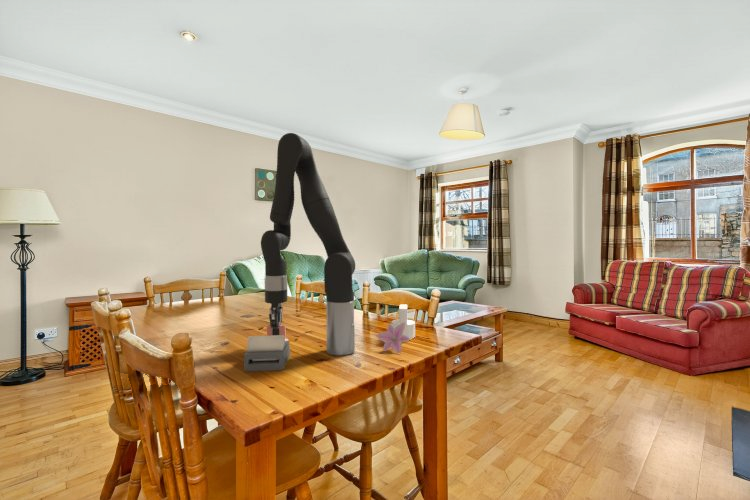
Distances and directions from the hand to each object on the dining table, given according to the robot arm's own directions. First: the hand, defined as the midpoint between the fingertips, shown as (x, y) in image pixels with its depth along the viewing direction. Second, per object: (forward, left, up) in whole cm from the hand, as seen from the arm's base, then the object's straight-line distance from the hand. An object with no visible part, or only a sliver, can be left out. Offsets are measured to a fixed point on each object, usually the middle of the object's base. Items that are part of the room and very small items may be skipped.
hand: (276, 337), depth 122 cm
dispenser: (0, +14, -4) cm, 14 cm away
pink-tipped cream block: (0, +9, -1) cm, 9 cm away
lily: (-40, +6, -4) cm, 41 cm away
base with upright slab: (-46, -8, -4) cm, 47 cm away
